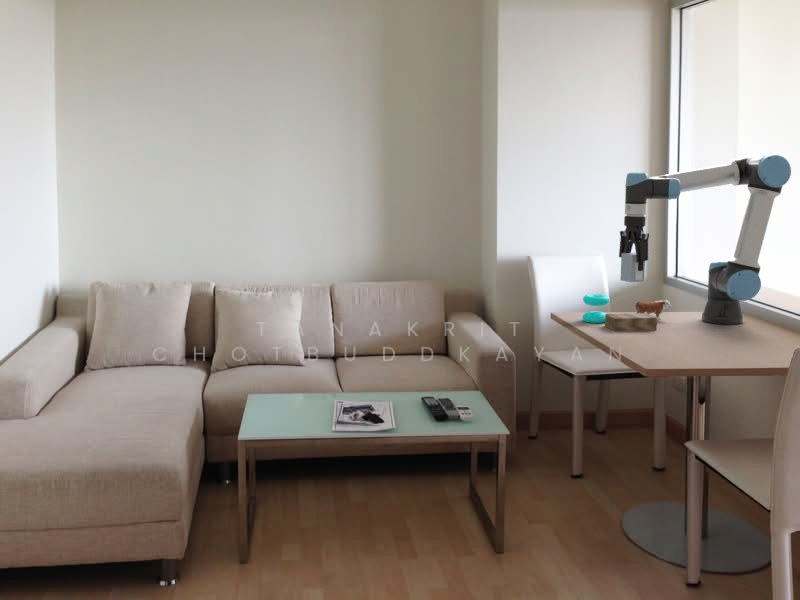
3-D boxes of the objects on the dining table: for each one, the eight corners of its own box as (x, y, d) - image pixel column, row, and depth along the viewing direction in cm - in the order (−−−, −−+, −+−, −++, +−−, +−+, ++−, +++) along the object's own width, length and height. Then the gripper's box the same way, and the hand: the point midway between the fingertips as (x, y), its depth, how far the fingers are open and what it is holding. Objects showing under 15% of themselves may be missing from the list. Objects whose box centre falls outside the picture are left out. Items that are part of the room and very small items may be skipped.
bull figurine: (671, 321, 369) (672, 300, 368) (635, 320, 372) (636, 299, 370) (669, 319, 374) (670, 299, 372) (634, 318, 376) (635, 298, 375)
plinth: (645, 326, 362) (646, 313, 361) (656, 331, 352) (657, 317, 351) (604, 327, 359) (605, 313, 359) (614, 332, 350) (615, 318, 349)
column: (633, 279, 357) (634, 252, 355) (644, 281, 351) (645, 254, 350) (620, 280, 354) (621, 253, 353) (631, 282, 349) (632, 254, 347)
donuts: (601, 298, 361) (578, 295, 367) (600, 324, 362) (577, 321, 369) (614, 295, 368) (591, 293, 375) (613, 321, 370) (590, 318, 376)
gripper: (610, 214, 356) (607, 276, 360) (644, 217, 339) (641, 282, 343) (626, 213, 359) (623, 275, 363) (660, 216, 342) (657, 281, 346)
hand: (632, 278), depth 353 cm, fingers closed on column, 6 cm apart
